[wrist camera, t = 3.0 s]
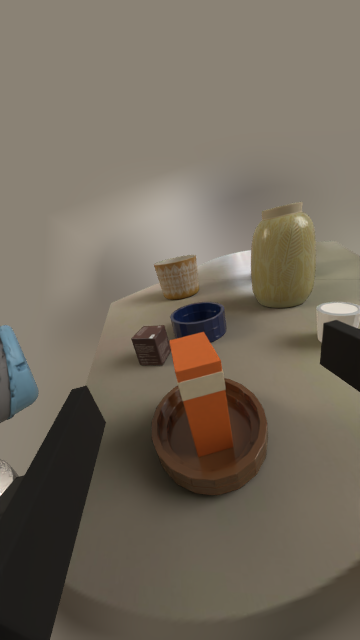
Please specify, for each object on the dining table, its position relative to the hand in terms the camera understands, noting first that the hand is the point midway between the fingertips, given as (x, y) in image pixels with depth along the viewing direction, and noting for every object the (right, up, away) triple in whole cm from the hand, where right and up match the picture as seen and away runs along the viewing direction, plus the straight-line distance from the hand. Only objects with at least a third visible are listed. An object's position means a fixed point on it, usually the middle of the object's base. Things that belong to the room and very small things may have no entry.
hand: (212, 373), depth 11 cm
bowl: (+2, -13, +16) cm, 20 cm away
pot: (+4, 0, +44) cm, 44 cm away
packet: (+2, -12, +16) cm, 20 cm away
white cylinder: (+30, -1, +29) cm, 41 cm away
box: (-7, -6, +36) cm, 37 cm away
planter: (-1, +15, +83) cm, 84 cm away
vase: (+31, +9, +52) cm, 61 cm away
